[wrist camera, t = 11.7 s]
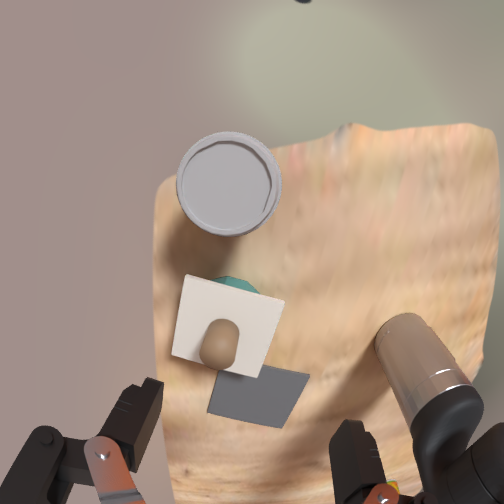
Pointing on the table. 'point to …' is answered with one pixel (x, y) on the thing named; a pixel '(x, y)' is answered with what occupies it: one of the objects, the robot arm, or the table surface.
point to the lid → (225, 326)
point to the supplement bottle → (393, 484)
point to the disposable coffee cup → (228, 184)
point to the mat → (257, 395)
